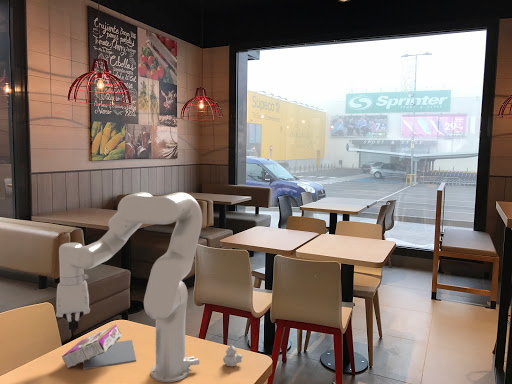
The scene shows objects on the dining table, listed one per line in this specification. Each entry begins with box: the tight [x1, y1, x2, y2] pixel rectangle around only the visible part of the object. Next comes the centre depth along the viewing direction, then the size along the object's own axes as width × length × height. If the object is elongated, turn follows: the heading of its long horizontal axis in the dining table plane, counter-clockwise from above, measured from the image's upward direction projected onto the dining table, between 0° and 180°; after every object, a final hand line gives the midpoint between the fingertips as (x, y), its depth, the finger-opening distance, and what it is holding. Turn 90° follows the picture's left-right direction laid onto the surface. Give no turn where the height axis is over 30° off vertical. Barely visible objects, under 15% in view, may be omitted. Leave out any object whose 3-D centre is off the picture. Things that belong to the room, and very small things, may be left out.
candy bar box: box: [61, 324, 123, 369], centre depth 145 cm, size 11×5×16 cm
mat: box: [82, 339, 137, 370], centre depth 153 cm, size 17×16×1 cm
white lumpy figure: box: [222, 342, 243, 367], centre depth 147 cm, size 5×7×8 cm
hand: (73, 330), depth 147 cm, fingers closed
